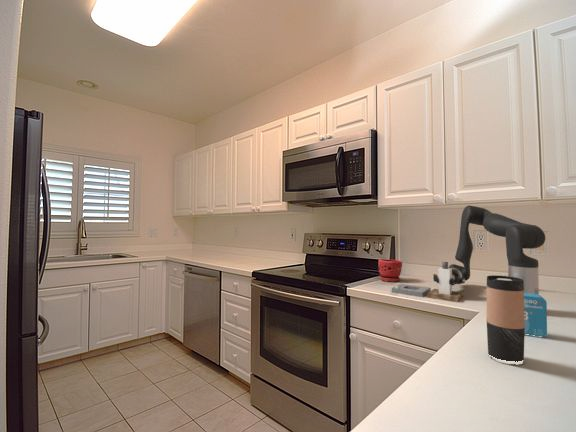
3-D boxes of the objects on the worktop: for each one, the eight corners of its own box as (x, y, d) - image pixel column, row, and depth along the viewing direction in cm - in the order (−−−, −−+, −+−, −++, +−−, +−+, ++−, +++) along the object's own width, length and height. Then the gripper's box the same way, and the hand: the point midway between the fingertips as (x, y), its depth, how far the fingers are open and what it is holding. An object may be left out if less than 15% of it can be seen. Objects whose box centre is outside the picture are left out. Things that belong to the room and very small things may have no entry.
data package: (497, 331, 92) (496, 292, 92) (495, 326, 96) (495, 289, 96) (547, 339, 86) (546, 297, 86) (543, 333, 90) (542, 294, 90)
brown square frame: (462, 296, 135) (462, 292, 135) (457, 302, 126) (457, 297, 126) (434, 292, 143) (434, 288, 143) (427, 297, 134) (427, 292, 134)
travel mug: (526, 358, 74) (525, 277, 74) (524, 369, 68) (523, 282, 68) (489, 349, 79) (488, 274, 79) (484, 359, 73) (483, 278, 73)
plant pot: (397, 283, 164) (397, 262, 164) (374, 280, 172) (374, 260, 172) (405, 280, 174) (405, 259, 174) (383, 277, 182) (383, 258, 183)
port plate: (430, 291, 145) (430, 286, 145) (422, 297, 134) (422, 291, 134) (401, 287, 154) (401, 282, 154) (391, 292, 143) (391, 286, 143)
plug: (451, 297, 135) (451, 261, 135) (449, 298, 131) (449, 262, 131) (441, 295, 137) (440, 261, 138) (438, 297, 134) (438, 262, 134)
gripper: (436, 267, 150) (426, 271, 137) (468, 270, 141) (461, 275, 128) (436, 282, 150) (426, 287, 137) (468, 286, 141) (462, 292, 128)
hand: (443, 281), depth 132 cm, fingers closed on plug, 4 cm apart
